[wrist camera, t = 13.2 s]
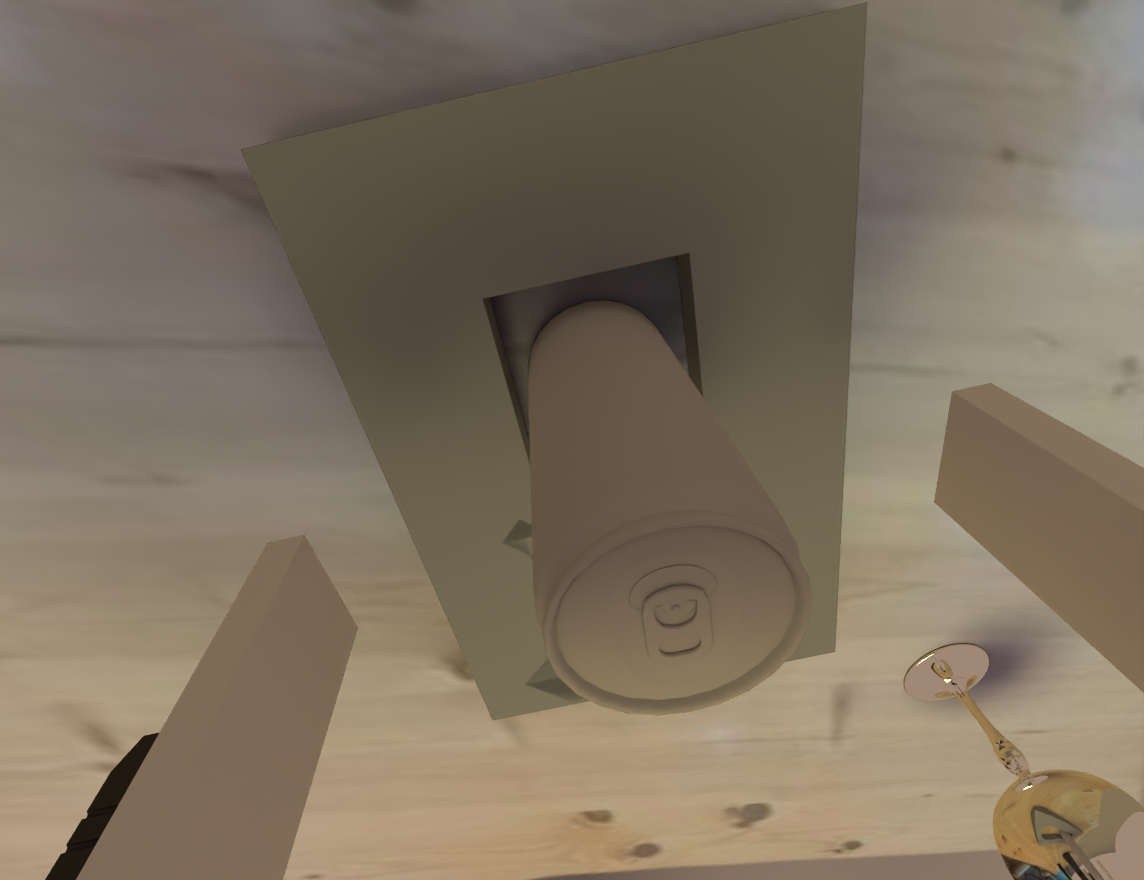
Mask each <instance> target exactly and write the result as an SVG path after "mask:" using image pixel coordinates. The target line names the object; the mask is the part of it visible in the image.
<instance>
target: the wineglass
mask: <svg viewBox="0 0 1144 880" xmlns="http://www.w3.org/2000/svg"><path fill="white" fill-rule="evenodd" d="M988 667H989V657H988V655H987V653H986V652H985V651H984V650H983V649H982V648H980V647H978V646H976V645H971V644H955V645H950V646H946V647H942V648H940V649H937V650H935V651H933V652H931V653H929V654H927V655H925V656H924V657H922V658H921V659H920V660H918V661H917V662H916V663H915V664H914V665H913V666H912V667H911V668H910V670H909V671H908V673H907V675H906V677H905V681H904V687H905V690H906V691H907V693H908V694H909V695H910V696H911V697H913V698H914V699H917V700H920V701H926V702H934V701H942V700H946V699H950V698H953V697H957V698H958V699H959V700H960V701H961V702H962V703H963V704H964V705H965V706H966V708H967V709H968V710H969V711H970V713H971V714H972V715H973V716H974V718H975V719H976V720H977V721H978V723H979V724H980V726H981V727H982V729H983V730H984V732H985V733H986V735H987V736H988V738H989V740H990V742H991V744H992V746H993V750H994V752H995V754H996V756H997V758H998V760H999V761H1000V762H1001V763H1002V764H1003V765H1004V766H1005V767H1006V768H1007V770H1009V771H1010V772H1012V773H1013V774H1016V775H1017V776H1018V777H1019V779H1018V780H1017V781H1015V782H1014V783H1013V784H1011V785H1010V786H1009V787H1008V789H1007V790H1006V791H1005V792H1004V793H1003V795H1002V796H1001V798H1000V799H999V800H998V802H997V804H996V807H995V810H994V814H993V833H994V838H995V842H996V845H997V847H998V850H999V852H1000V854H1001V856H1002V858H1003V860H1004V863H1005V865H1006V867H1007V868H1008V870H1009V872H1010V874H1011V875H1012V877H1013V879H1014V880H1144V807H1143V806H1142V805H1141V804H1139V803H1138V802H1137V801H1136V800H1135V799H1134V798H1133V797H1132V796H1130V795H1129V794H1127V793H1126V792H1124V791H1123V790H1122V789H1120V788H1119V787H1117V786H1115V785H1114V784H1112V783H1110V782H1108V781H1106V780H1104V779H1102V778H1099V777H1097V776H1095V775H1092V774H1088V773H1085V772H1080V771H1074V770H1045V771H1039V772H1035V773H1031V772H1030V771H1029V767H1028V763H1027V760H1026V759H1025V757H1024V755H1023V754H1022V752H1021V751H1020V750H1019V749H1018V748H1017V747H1016V746H1015V745H1014V744H1013V743H1011V742H1010V741H1008V740H1007V739H1006V738H1005V737H1004V736H1003V735H1002V734H1001V733H1000V732H999V731H998V730H997V729H996V728H995V727H994V726H993V725H992V724H991V723H990V722H989V720H988V719H987V718H986V717H985V715H984V714H983V713H982V711H981V710H980V709H979V707H978V706H977V705H976V703H975V702H974V701H973V699H972V698H971V696H970V694H969V691H968V690H969V689H971V688H972V687H973V686H975V685H976V684H977V683H978V682H979V681H980V680H981V679H982V678H983V677H984V675H985V674H986V672H987V670H988Z"/></svg>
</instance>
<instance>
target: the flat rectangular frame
mask: <svg viewBox="0 0 1144 880" xmlns="http://www.w3.org/2000/svg"><path fill="white" fill-rule="evenodd" d="M866 12H867V2H866V3H862V4H857V5H853V6H849V7H845V8H840V9H836V10H832V11H828V12H823V13H819V14H815V15H811V16H806V17H802V18H798V19H794V20H789V21H785V22H781V23H777V24H772V25H768V26H764V27H760V28H755V29H751V30H747V31H743V32H738V33H734V34H730V35H726V36H721V37H717V38H713V39H708V40H704V41H700V42H696V43H691V44H687V45H683V46H679V47H674V48H670V49H666V50H662V51H657V52H653V53H649V54H645V55H640V56H636V57H632V58H628V59H623V60H619V61H615V62H611V63H606V64H602V65H598V66H594V67H589V68H585V69H581V70H577V71H572V72H568V73H564V74H560V75H555V76H551V77H547V78H542V79H538V80H534V81H530V82H525V83H521V84H517V85H513V86H508V87H504V88H500V89H496V90H491V91H487V92H483V93H479V94H474V95H470V96H466V97H462V98H457V99H453V100H449V101H445V102H440V103H436V104H432V105H428V106H423V107H419V108H415V109H411V110H406V111H402V112H398V113H394V114H389V115H385V116H381V117H376V118H372V119H368V120H364V121H359V122H355V123H351V124H347V125H342V126H338V127H334V128H330V129H325V130H321V131H317V132H313V133H308V134H304V135H300V136H296V137H291V138H287V139H283V140H279V141H274V142H270V143H266V144H262V145H257V146H253V147H249V148H245V149H240V150H241V152H242V154H243V157H244V159H245V161H246V163H247V166H248V168H249V170H250V172H251V175H252V177H253V179H254V181H255V184H256V186H257V188H258V190H259V193H260V195H261V197H262V200H263V202H264V204H265V206H266V209H267V211H268V213H269V215H270V218H271V220H272V222H273V224H274V227H275V229H276V231H277V233H278V236H279V238H280V240H281V243H282V245H283V247H284V249H285V252H286V254H287V256H288V258H289V261H290V263H291V265H292V267H293V270H294V272H295V274H296V276H297V279H298V281H299V283H300V286H301V288H302V290H303V292H304V295H305V297H306V299H307V301H308V304H309V306H310V308H311V310H312V313H313V315H314V317H315V319H316V322H317V324H318V326H319V329H320V331H321V333H322V335H323V338H324V340H325V342H326V344H327V347H328V349H329V351H330V353H331V356H332V358H333V360H334V362H335V365H336V367H337V369H338V372H339V374H340V376H341V378H342V381H343V383H344V385H345V387H346V390H347V392H348V394H349V396H350V399H351V401H352V403H353V405H354V408H355V410H356V412H357V415H358V417H359V419H360V421H361V424H362V426H363V428H364V430H365V433H366V435H367V437H368V439H369V442H370V444H371V446H372V448H373V451H374V453H375V455H376V458H377V460H378V462H379V464H380V467H381V469H382V471H383V473H384V476H385V478H386V480H387V482H388V485H389V487H390V489H391V491H392V494H393V496H394V498H395V501H396V503H397V505H398V507H399V510H400V512H401V514H402V516H403V519H404V521H405V523H406V525H407V528H408V530H409V532H410V534H411V537H412V539H413V541H414V544H415V546H416V548H417V550H418V553H419V555H420V557H421V559H422V562H423V564H424V566H425V568H426V571H427V573H428V575H429V577H430V580H431V582H432V584H433V587H434V589H435V591H436V593H437V596H438V598H439V600H440V602H441V605H442V607H443V609H444V611H445V614H446V616H447V618H448V620H449V623H450V625H451V627H452V630H453V632H454V634H455V636H456V639H457V641H458V643H459V645H460V648H461V650H462V652H463V654H464V657H465V659H466V661H467V663H468V666H469V668H470V670H471V673H472V675H473V677H474V679H475V682H476V684H477V686H478V688H479V691H480V693H481V695H482V697H483V700H484V702H485V704H486V706H487V709H488V711H489V713H490V716H491V718H492V720H497V719H502V718H507V717H512V716H517V715H522V714H527V713H532V712H537V711H542V710H547V709H552V708H557V707H562V706H567V705H572V704H577V703H582V702H587V701H589V700H587V699H585V698H584V697H582V696H580V695H578V694H576V693H575V692H574V691H573V690H572V689H571V688H570V687H568V686H567V685H566V684H565V683H564V682H563V681H562V680H561V679H560V678H559V677H558V676H557V674H556V673H555V671H554V669H553V667H552V665H551V663H550V661H549V659H548V657H547V655H546V653H545V646H544V636H543V632H542V630H541V628H540V626H539V624H538V622H537V618H536V609H535V600H534V591H533V556H532V516H531V476H530V441H529V438H528V434H527V430H526V427H525V423H524V420H523V416H522V412H521V409H520V405H519V402H518V398H517V394H516V391H515V387H514V383H513V380H512V376H511V373H510V369H509V365H508V362H507V358H506V355H505V351H504V347H503V344H502V340H501V336H500V333H499V329H498V326H497V322H496V318H495V315H494V311H493V308H492V304H491V300H490V297H493V296H498V295H502V294H507V293H511V292H516V291H520V290H525V289H529V288H534V287H538V286H543V285H547V284H552V283H556V282H561V281H565V280H569V279H574V278H578V277H583V276H587V275H592V274H596V273H601V272H605V271H610V270H614V269H619V268H623V267H628V266H632V265H637V264H641V263H646V262H650V261H654V260H659V259H663V258H668V257H672V256H677V266H678V275H679V285H680V294H681V304H682V313H683V323H684V332H685V342H686V351H687V361H688V370H689V377H690V379H691V380H692V382H693V383H694V385H695V386H696V388H697V389H698V391H699V392H700V394H701V395H702V397H703V399H704V400H705V402H706V403H707V405H708V406H709V408H710V409H711V411H712V412H713V414H714V415H715V417H716V418H717V420H718V421H719V423H720V424H721V426H722V427H723V429H724V430H725V432H726V433H727V435H728V436H729V438H730V439H731V441H732V442H733V444H734V445H735V447H736V448H737V450H738V451H739V453H740V454H741V456H742V457H743V459H744V460H745V462H746V463H747V465H748V466H749V468H750V469H751V471H752V472H753V474H754V475H755V477H756V478H757V480H758V481H759V483H760V484H761V486H762V487H763V489H764V490H765V492H766V493H767V495H768V496H769V498H770V499H771V501H772V502H773V504H774V505H775V507H776V508H777V510H778V511H779V513H780V514H781V516H782V518H783V520H784V521H785V523H786V525H787V527H788V528H789V530H790V532H791V534H792V535H793V537H794V539H795V541H796V543H797V545H798V549H799V556H800V562H801V563H802V565H803V567H804V568H805V570H806V572H807V574H808V575H809V578H810V585H811V592H812V598H813V606H812V611H811V615H810V620H809V624H808V628H807V630H806V632H805V634H804V636H803V637H802V639H801V641H800V643H799V644H798V646H797V648H796V650H795V651H794V653H793V654H792V655H791V656H790V657H789V658H788V659H787V660H786V661H785V662H787V661H792V660H797V659H802V658H807V657H812V656H817V655H822V654H827V653H832V652H835V646H836V626H837V605H838V585H839V564H840V544H841V523H842V503H843V482H844V462H845V442H846V421H847V401H848V380H849V360H850V339H851V319H852V299H853V278H854V258H855V237H856V217H857V196H858V176H859V156H860V135H861V115H862V94H863V74H864V53H865V33H866Z"/></svg>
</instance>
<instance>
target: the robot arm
mask: <svg viewBox="0 0 1144 880" xmlns="http://www.w3.org/2000/svg"><path fill="white" fill-rule="evenodd" d="M934 502H935V503H936V504H937V505H938V506H939V507H940V508H941V509H942V510H943V511H945V512H946V513H947V514H948V515H949V516H950V517H951V518H952V519H953V520H954V521H956V522H957V523H958V524H959V525H960V526H961V527H962V528H963V529H964V530H965V531H967V532H968V533H969V534H970V535H971V536H972V537H973V538H974V539H975V540H976V541H978V542H979V543H980V544H981V545H982V546H983V547H984V548H985V549H986V550H987V551H989V552H990V553H991V554H992V555H993V556H994V557H995V558H996V559H997V560H998V561H1000V562H1001V563H1002V564H1003V565H1004V566H1005V567H1006V568H1007V569H1008V570H1009V571H1010V572H1012V573H1013V574H1014V575H1015V576H1016V577H1017V578H1018V579H1019V580H1020V581H1021V582H1023V583H1024V584H1025V585H1026V586H1027V587H1028V588H1029V589H1030V590H1031V591H1032V592H1034V593H1035V594H1036V595H1037V596H1038V597H1039V598H1040V599H1041V600H1042V601H1043V602H1045V603H1046V604H1047V605H1048V606H1049V607H1050V608H1051V609H1052V610H1053V611H1054V612H1056V613H1057V614H1058V615H1059V616H1060V617H1061V618H1062V619H1063V620H1064V621H1065V622H1067V623H1068V624H1069V625H1070V626H1071V627H1072V628H1073V629H1074V630H1075V631H1076V632H1078V633H1079V634H1080V635H1081V636H1082V637H1083V638H1084V639H1085V640H1086V641H1087V642H1089V643H1090V644H1091V645H1092V646H1093V647H1094V648H1095V649H1096V650H1097V651H1098V652H1100V653H1101V654H1102V655H1103V656H1104V657H1105V658H1106V659H1107V660H1108V661H1109V662H1111V663H1112V664H1113V665H1114V666H1115V667H1116V668H1117V669H1118V670H1119V671H1120V672H1121V673H1123V674H1124V675H1125V676H1126V677H1127V678H1128V679H1129V680H1130V681H1131V682H1132V683H1134V684H1135V685H1136V686H1137V687H1138V688H1139V689H1140V690H1141V691H1142V692H1143V693H1144V468H1143V467H1141V466H1139V465H1137V464H1136V463H1134V462H1132V461H1130V460H1128V459H1127V458H1125V457H1123V456H1121V455H1119V454H1118V453H1116V452H1114V451H1112V450H1110V449H1109V448H1107V447H1105V446H1103V445H1101V444H1100V443H1098V442H1096V441H1094V440H1092V439H1091V438H1089V437H1087V436H1085V435H1083V434H1082V433H1080V432H1078V431H1076V430H1074V429H1073V428H1071V427H1069V426H1067V425H1065V424H1064V423H1062V422H1060V421H1058V420H1056V419H1055V418H1053V417H1051V416H1049V415H1047V414H1046V413H1044V412H1042V411H1040V410H1038V409H1037V408H1035V407H1033V406H1031V405H1029V404H1028V403H1026V402H1024V401H1022V400H1020V399H1019V398H1017V397H1015V396H1013V395H1011V394H1010V393H1008V392H1006V391H1004V390H1002V389H1001V388H999V387H997V386H995V385H993V384H992V383H989V384H984V385H980V386H975V387H971V388H966V389H962V390H957V391H953V392H952V396H951V402H950V408H949V414H948V420H947V426H946V433H945V439H944V445H943V451H942V457H941V463H940V469H939V476H938V482H937V488H936V494H935V500H934ZM357 629H358V627H357V625H356V624H355V622H354V620H353V618H352V617H351V615H350V613H349V611H348V610H347V608H346V606H345V604H344V603H343V601H342V599H341V597H340V596H339V594H338V592H337V591H336V589H335V587H334V585H333V584H332V582H331V580H330V578H329V577H328V575H327V573H326V571H325V570H324V568H323V566H322V564H321V563H320V561H319V559H318V558H317V556H316V554H315V552H314V551H313V549H312V547H311V545H310V544H309V542H308V540H307V538H306V537H305V535H302V536H297V537H292V538H288V539H283V540H279V541H274V542H270V543H267V545H266V547H265V548H264V550H263V552H262V554H261V555H260V557H259V559H258V561H257V562H256V564H255V566H254V568H253V569H252V571H251V573H250V575H249V576H248V578H247V580H246V582H245V583H244V585H243V587H242V589H241V590H240V592H239V594H238V596H237V598H236V599H235V601H234V603H233V605H232V606H231V608H230V610H229V612H228V613H227V615H226V617H225V619H224V620H223V622H222V624H221V626H220V627H219V629H218V631H217V633H216V634H215V636H214V638H213V640H212V641H211V643H210V645H209V647H208V648H207V650H206V652H205V654H204V656H203V657H202V659H201V661H200V663H199V664H198V666H197V668H196V670H195V671H194V673H193V675H192V677H191V678H190V680H189V682H188V684H187V685H186V687H185V689H184V691H183V692H182V694H181V696H180V698H179V699H178V701H177V703H176V705H175V707H174V708H173V710H172V712H171V714H170V715H169V717H168V719H167V721H166V722H165V724H164V726H163V728H162V729H161V731H160V733H155V734H151V735H146V736H143V737H142V739H141V740H140V741H139V742H138V743H137V744H136V745H135V746H134V747H133V748H132V749H131V751H130V752H129V753H128V754H127V755H126V756H125V757H124V758H123V759H122V760H121V761H120V763H119V764H118V765H117V766H116V767H115V768H114V769H113V770H112V771H111V773H110V774H109V776H108V778H107V779H106V781H105V782H104V784H103V786H102V787H101V789H100V791H99V792H98V794H97V796H96V797H95V799H94V800H93V802H92V804H91V805H90V807H89V809H88V810H87V813H88V815H87V818H86V819H82V820H81V822H80V823H79V825H78V827H77V828H76V830H75V832H74V833H73V835H72V837H71V838H70V840H69V842H68V843H67V851H66V852H65V853H63V854H61V855H60V856H59V858H58V860H57V861H56V863H55V865H54V866H53V868H52V869H51V871H50V873H49V874H48V876H47V878H46V879H45V880H283V877H284V874H285V870H286V867H287V864H288V860H289V857H290V854H291V850H292V847H293V844H294V840H295V837H296V833H297V830H298V827H299V823H300V820H301V817H302V813H303V810H304V807H305V803H306V800H307V797H308V793H309V790H310V786H311V783H312V780H313V776H314V773H315V770H316V766H317V763H318V760H319V756H320V753H321V750H322V746H323V743H324V739H325V736H326V733H327V729H328V726H329V723H330V719H331V716H332V713H333V709H334V706H335V703H336V699H337V696H338V693H339V689H340V686H341V682H342V679H343V676H344V672H345V669H346V666H347V662H348V659H349V656H350V652H351V649H352V646H353V642H354V639H355V635H356V632H357Z"/></svg>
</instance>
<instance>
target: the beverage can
mask: <svg viewBox="0 0 1144 880" xmlns="http://www.w3.org/2000/svg"><path fill="white" fill-rule="evenodd" d="M528 397H529V436H530V476H531V516H532V556H533V591H534V600H535V609H536V618H537V622H538V624H539V626H540V628H541V630H542V632H543V636H544V646H545V653H546V655H547V657H548V659H549V661H550V663H551V665H552V667H553V669H554V671H555V673H556V674H557V676H558V677H559V678H560V679H561V680H562V681H563V682H564V683H565V684H566V685H567V686H568V687H570V688H571V689H572V690H573V691H574V692H575V693H576V694H578V695H580V696H582V697H584V698H585V699H587V700H589V701H591V702H593V703H595V704H597V705H599V706H602V707H605V708H609V709H613V710H617V711H620V712H624V713H629V714H644V715H667V714H677V713H687V712H692V711H696V710H699V709H703V708H707V707H710V706H714V705H718V704H721V703H723V702H725V701H727V700H730V699H732V698H734V697H736V696H738V695H741V694H743V693H745V692H747V691H749V690H751V689H752V688H753V687H755V686H756V685H758V684H759V683H761V682H762V681H764V680H765V679H766V678H768V677H769V676H771V675H772V674H774V673H775V672H776V671H777V670H778V668H779V667H780V666H781V665H782V664H783V663H784V662H785V661H786V660H787V659H788V658H789V657H790V656H791V655H792V654H793V653H794V651H795V650H796V648H797V646H798V644H799V643H800V641H801V639H802V637H803V636H804V634H805V632H806V630H807V628H808V624H809V620H810V615H811V611H812V606H813V598H812V592H811V585H810V578H809V575H808V574H807V572H806V570H805V568H804V567H803V565H802V563H801V562H800V556H799V549H798V545H797V543H796V541H795V539H794V537H793V535H792V534H791V532H790V530H789V528H788V527H787V525H786V523H785V521H784V520H783V518H782V516H781V514H780V513H779V511H778V510H777V508H776V507H775V505H774V504H773V502H772V501H771V499H770V498H769V496H768V495H767V493H766V492H765V490H764V489H763V487H762V486H761V484H760V483H759V481H758V480H757V478H756V477H755V475H754V474H753V472H752V471H751V469H750V468H749V466H748V465H747V463H746V462H745V460H744V459H743V457H742V456H741V454H740V453H739V451H738V450H737V448H736V447H735V445H734V444H733V442H732V441H731V439H730V438H729V436H728V435H727V433H726V432H725V430H724V429H723V427H722V426H721V424H720V423H719V421H718V420H717V418H716V417H715V415H714V414H713V412H712V411H711V409H710V408H709V406H708V405H707V403H706V402H705V400H704V399H703V397H702V395H701V394H700V392H699V391H698V389H697V388H696V386H695V385H694V383H693V382H692V380H691V379H690V377H689V376H688V374H687V373H686V371H685V370H684V368H683V367H682V365H681V364H680V362H679V361H678V359H677V358H676V356H675V355H674V353H673V352H672V350H671V349H670V347H669V346H668V344H667V343H666V341H665V340H664V338H663V337H662V335H661V334H660V332H659V331H658V329H657V328H656V326H655V325H654V324H653V323H652V322H651V321H650V320H649V319H648V318H647V317H646V316H645V315H643V314H642V313H641V312H639V311H637V310H635V309H633V308H631V307H629V306H627V305H625V304H621V303H616V302H611V301H592V302H585V303H582V304H579V305H576V306H573V307H570V308H568V309H566V310H565V311H563V312H562V313H560V314H559V315H557V316H556V317H554V318H552V319H551V320H550V322H549V323H548V324H547V325H546V326H545V327H544V328H543V329H542V331H541V332H540V333H539V335H538V337H537V339H536V341H535V343H534V345H533V347H532V349H531V352H530V358H529V363H528Z"/></svg>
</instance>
